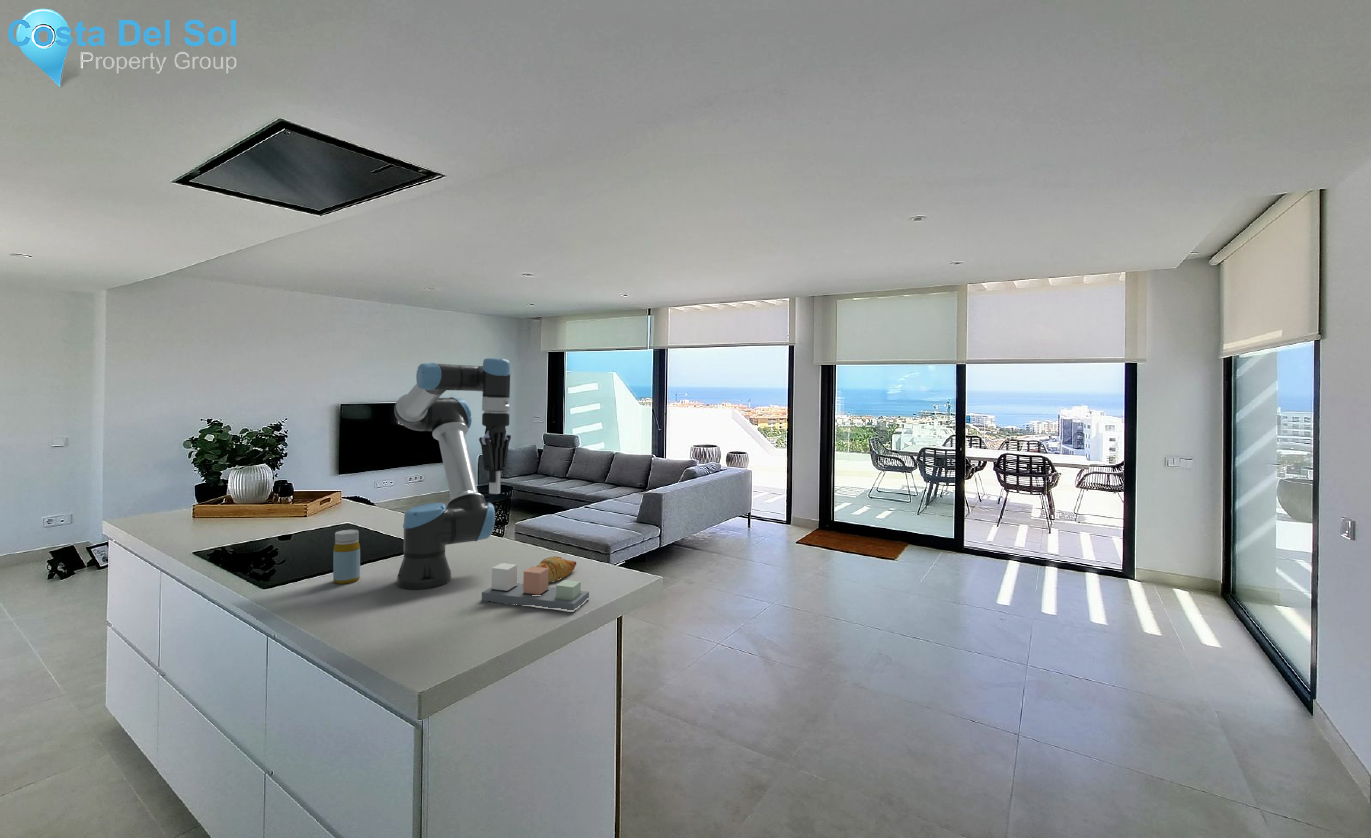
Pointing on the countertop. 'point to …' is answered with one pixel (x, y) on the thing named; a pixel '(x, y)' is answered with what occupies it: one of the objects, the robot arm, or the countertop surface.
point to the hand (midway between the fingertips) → (494, 493)
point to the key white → (504, 576)
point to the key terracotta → (535, 580)
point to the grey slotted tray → (532, 598)
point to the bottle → (346, 557)
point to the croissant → (557, 567)
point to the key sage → (568, 590)
